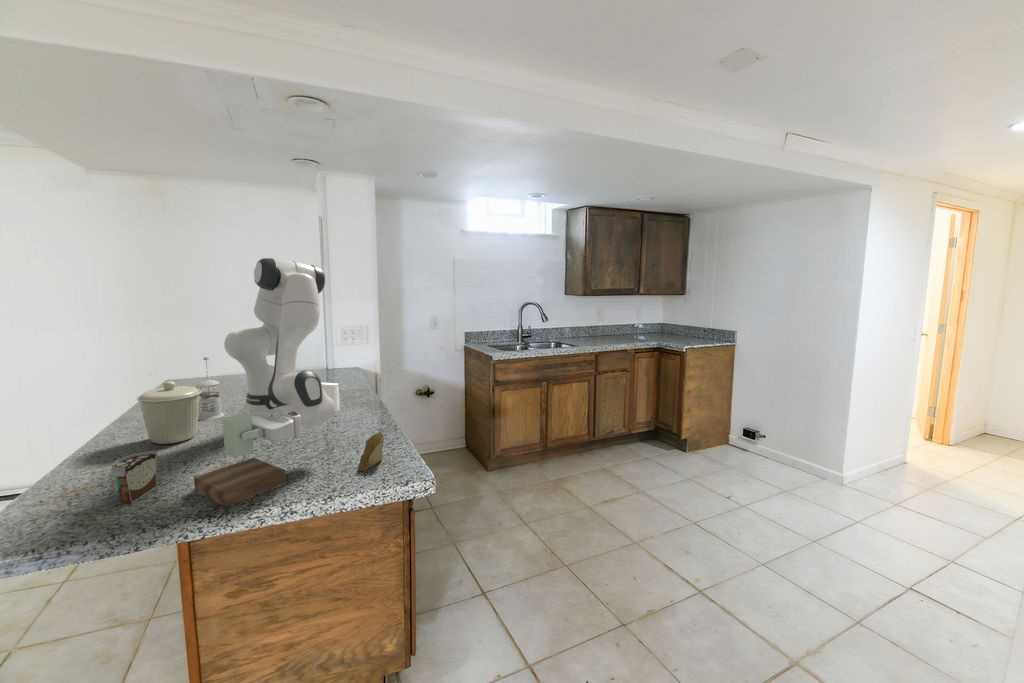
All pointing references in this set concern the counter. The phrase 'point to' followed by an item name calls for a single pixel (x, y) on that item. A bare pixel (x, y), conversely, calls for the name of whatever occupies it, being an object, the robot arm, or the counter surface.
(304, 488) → the counter surface
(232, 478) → the walnut base
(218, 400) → the french press
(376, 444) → the rock
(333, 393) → the white tapered cylinder
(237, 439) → the sage block
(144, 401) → the canister
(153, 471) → the food container
